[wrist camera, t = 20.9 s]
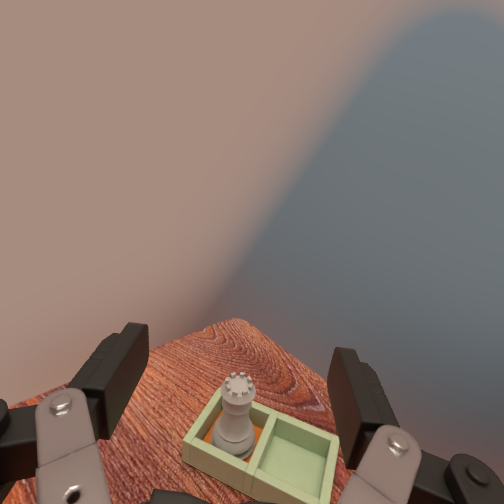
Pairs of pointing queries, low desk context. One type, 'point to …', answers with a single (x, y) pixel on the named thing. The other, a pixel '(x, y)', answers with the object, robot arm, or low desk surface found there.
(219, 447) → the rook chess piece
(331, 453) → the socket pad
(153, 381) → the low desk surface
